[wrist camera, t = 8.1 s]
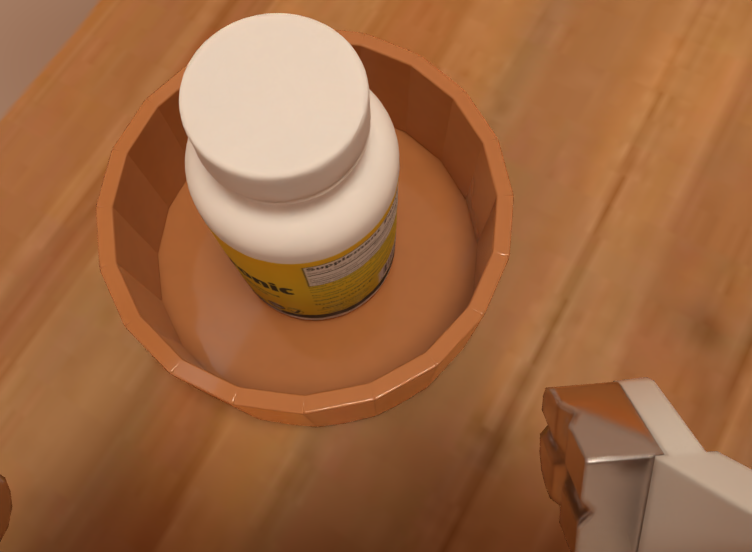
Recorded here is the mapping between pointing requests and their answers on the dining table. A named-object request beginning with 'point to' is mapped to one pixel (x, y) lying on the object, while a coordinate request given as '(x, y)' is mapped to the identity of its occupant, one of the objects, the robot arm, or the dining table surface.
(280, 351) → the round wooden tray
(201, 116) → the supplement bottle
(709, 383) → the dining table surface
